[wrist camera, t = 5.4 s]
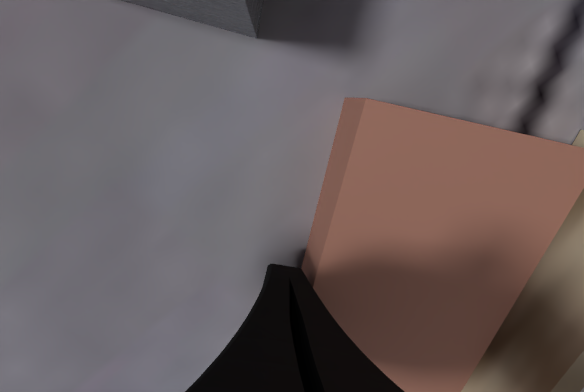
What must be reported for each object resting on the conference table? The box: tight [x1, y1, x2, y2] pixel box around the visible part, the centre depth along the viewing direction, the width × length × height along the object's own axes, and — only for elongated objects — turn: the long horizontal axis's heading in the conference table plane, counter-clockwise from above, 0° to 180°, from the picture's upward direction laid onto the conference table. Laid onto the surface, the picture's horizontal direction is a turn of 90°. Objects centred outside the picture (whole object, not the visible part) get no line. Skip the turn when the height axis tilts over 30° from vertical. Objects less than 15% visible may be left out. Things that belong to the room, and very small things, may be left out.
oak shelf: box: [461, 130, 584, 392], centre depth 11 cm, size 18×10×4 cm, turn 166°
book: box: [301, 98, 584, 392], centre depth 12 cm, size 14×8×3 cm, turn 168°
